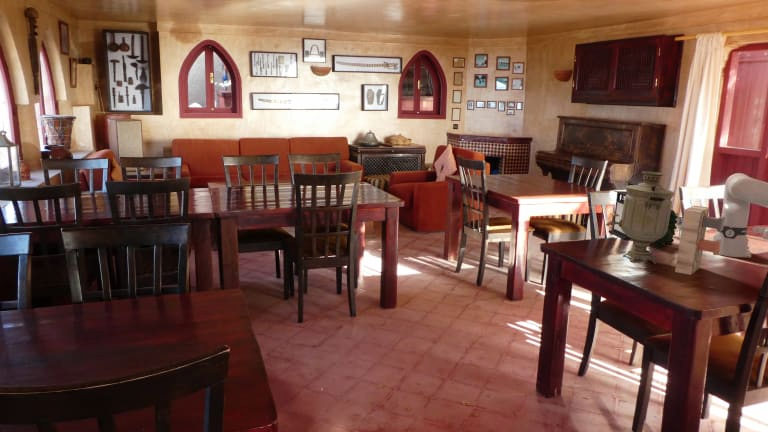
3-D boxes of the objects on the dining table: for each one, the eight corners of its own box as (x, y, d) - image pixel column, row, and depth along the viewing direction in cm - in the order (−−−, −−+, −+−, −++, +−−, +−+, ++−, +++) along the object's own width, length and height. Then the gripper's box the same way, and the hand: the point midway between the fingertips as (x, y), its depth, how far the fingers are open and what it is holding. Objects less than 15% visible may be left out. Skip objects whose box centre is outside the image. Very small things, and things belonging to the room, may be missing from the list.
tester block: (684, 264, 252) (694, 205, 246) (699, 267, 248) (709, 207, 242) (675, 271, 240) (684, 209, 234) (690, 275, 236) (700, 211, 230)
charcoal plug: (698, 226, 241) (700, 213, 240) (723, 229, 235) (725, 216, 234) (695, 227, 237) (697, 214, 236) (720, 231, 231) (722, 218, 230)
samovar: (605, 247, 277) (615, 166, 269) (664, 255, 266) (676, 171, 258) (599, 261, 251) (610, 172, 243) (664, 271, 240) (678, 178, 232)
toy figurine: (659, 243, 298) (642, 246, 280) (665, 208, 295) (649, 209, 277) (678, 247, 291) (662, 250, 273) (685, 211, 289) (669, 212, 271)
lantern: (638, 233, 313) (646, 170, 306) (655, 240, 297) (664, 174, 290) (608, 232, 312) (616, 169, 305) (623, 239, 295) (632, 173, 288)
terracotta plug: (695, 248, 243) (697, 236, 242) (719, 252, 237) (721, 240, 236) (691, 250, 239) (693, 238, 238) (716, 255, 233) (718, 242, 232)
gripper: (790, 247, 210) (747, 240, 219) (796, 238, 225) (756, 232, 234) (793, 231, 209) (750, 224, 217) (799, 223, 224) (758, 217, 233)
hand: (753, 228), depth 226 cm, fingers closed
